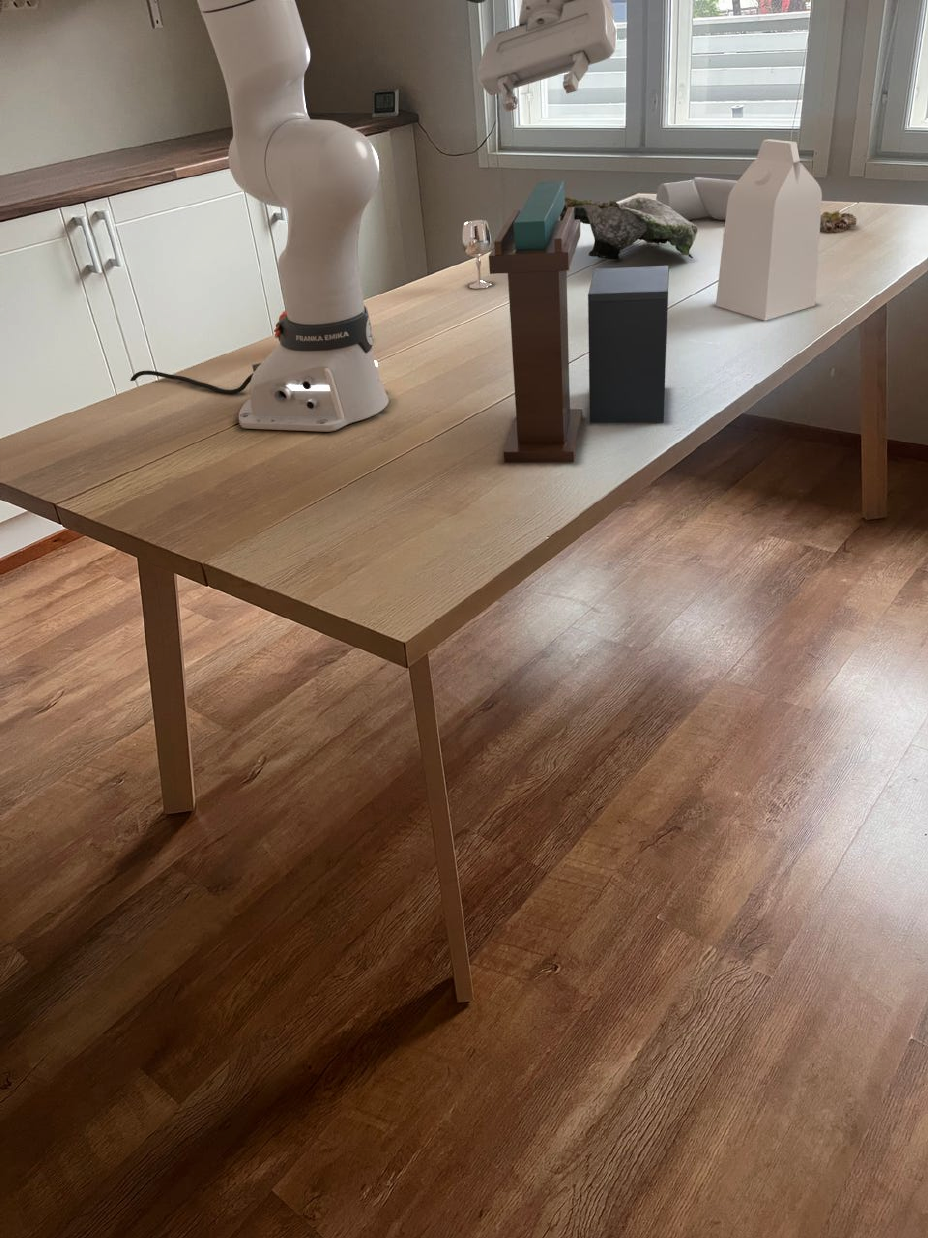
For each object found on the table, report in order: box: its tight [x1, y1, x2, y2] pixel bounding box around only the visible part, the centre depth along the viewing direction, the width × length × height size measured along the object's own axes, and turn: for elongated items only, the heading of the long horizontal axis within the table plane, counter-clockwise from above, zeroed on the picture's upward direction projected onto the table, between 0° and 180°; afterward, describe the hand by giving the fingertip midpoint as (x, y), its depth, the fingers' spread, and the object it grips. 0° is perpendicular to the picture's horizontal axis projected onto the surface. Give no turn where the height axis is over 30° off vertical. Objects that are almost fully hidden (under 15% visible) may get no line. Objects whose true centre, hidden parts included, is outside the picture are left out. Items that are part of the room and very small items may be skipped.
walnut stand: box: [488, 207, 584, 463], centre depth 120 cm, size 16×9×28 cm, turn 169°
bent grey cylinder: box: [655, 176, 738, 221], centre depth 219 cm, size 18×11×20 cm
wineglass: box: [461, 219, 492, 290], centre depth 189 cm, size 6×6×12 cm
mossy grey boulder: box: [559, 196, 698, 261], centre depth 196 cm, size 29×30×15 cm
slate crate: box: [587, 265, 670, 424], centre depth 130 cm, size 12×10×18 cm
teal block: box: [514, 180, 566, 250], centre depth 117 cm, size 23×4×3 cm, turn 169°
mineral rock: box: [820, 210, 858, 233], centre depth 205 cm, size 11×4×8 cm
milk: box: [715, 138, 823, 322], centre depth 159 cm, size 12×12×26 cm
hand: (538, 98), depth 132 cm, fingers open, 8 cm apart
